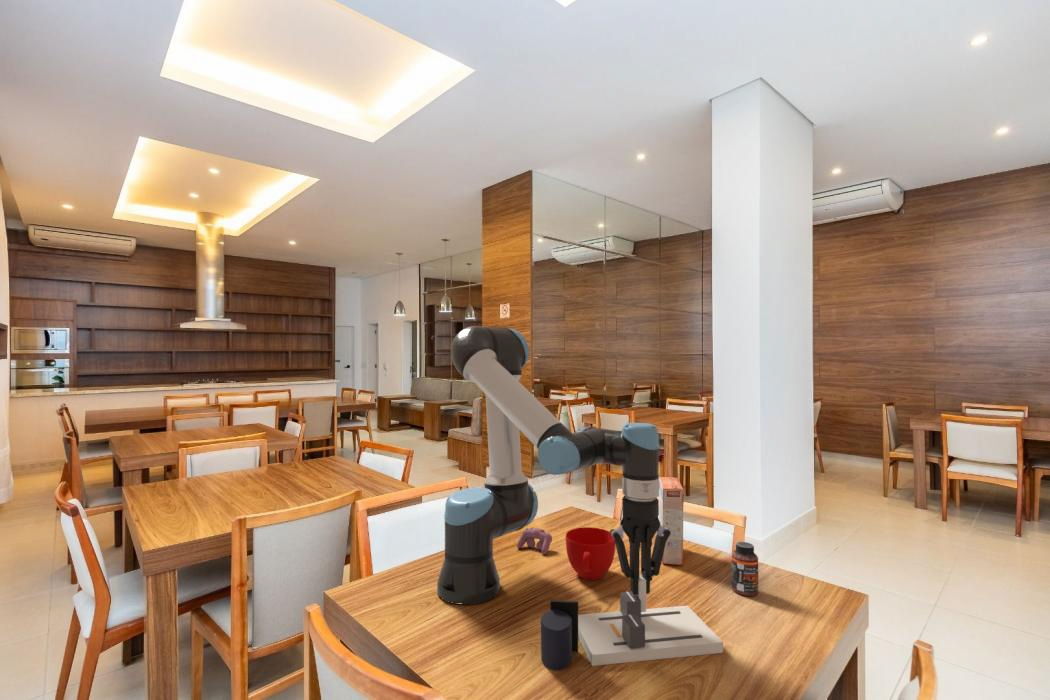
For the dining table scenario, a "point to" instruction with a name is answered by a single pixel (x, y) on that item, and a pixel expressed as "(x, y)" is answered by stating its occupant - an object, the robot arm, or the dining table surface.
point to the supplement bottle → (744, 570)
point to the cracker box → (672, 518)
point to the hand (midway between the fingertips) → (640, 608)
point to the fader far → (630, 604)
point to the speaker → (559, 634)
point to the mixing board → (647, 636)
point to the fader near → (633, 631)
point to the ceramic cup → (590, 551)
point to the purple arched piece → (535, 533)
